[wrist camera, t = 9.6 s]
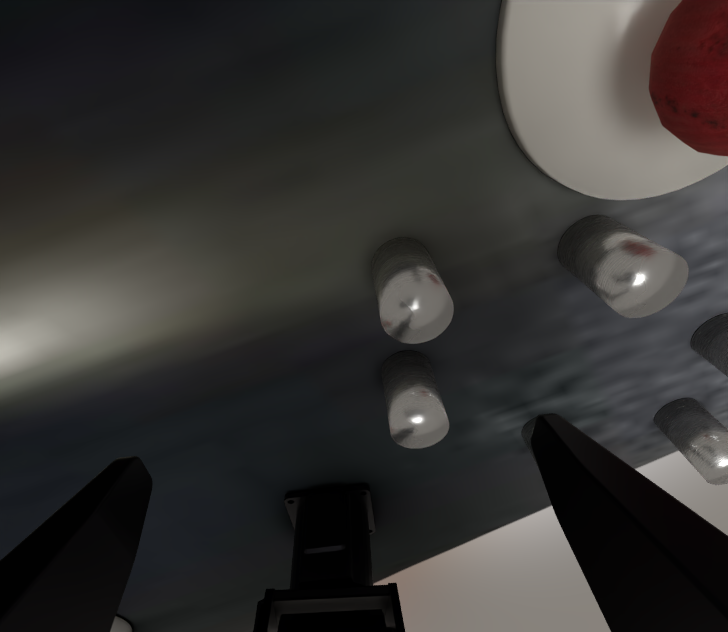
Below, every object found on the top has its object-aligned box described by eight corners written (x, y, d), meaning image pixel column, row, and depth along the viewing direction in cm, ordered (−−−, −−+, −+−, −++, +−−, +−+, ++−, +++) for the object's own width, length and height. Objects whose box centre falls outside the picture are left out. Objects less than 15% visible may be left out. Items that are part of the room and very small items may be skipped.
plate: (758, 175, 18) (783, 182, 17) (483, 208, 18) (492, 216, 17) (976, -301, 11) (1043, -339, 10) (518, -248, 11) (537, -281, 10)
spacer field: (689, 425, 28) (745, 481, 24) (389, 460, 28) (398, 522, 24) (820, 189, 18) (945, 219, 15) (368, 241, 18) (377, 286, 15)
